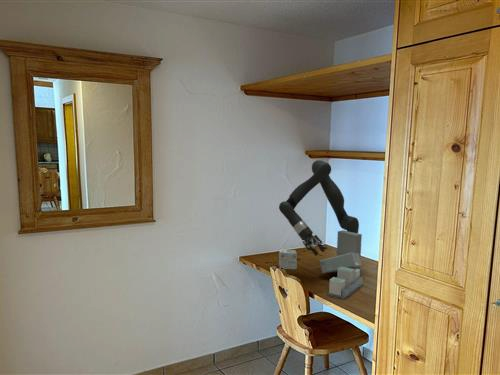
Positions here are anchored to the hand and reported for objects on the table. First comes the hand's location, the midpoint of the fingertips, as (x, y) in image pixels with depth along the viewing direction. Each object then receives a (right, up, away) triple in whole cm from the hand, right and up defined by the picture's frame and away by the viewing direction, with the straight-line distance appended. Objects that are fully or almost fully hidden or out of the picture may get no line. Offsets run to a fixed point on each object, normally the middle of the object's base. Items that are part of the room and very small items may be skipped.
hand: (320, 252), depth 220 cm
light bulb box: (-16, -14, +28) cm, 35 cm away
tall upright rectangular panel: (+20, -16, +20) cm, 33 cm away
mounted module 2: (+18, -16, 0) cm, 24 cm away
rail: (+12, -19, -8) cm, 24 cm away
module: (+12, -17, -8) cm, 22 cm away
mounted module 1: (+5, -18, -16) cm, 25 cm away
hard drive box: (+5, -11, +15) cm, 19 cm away
